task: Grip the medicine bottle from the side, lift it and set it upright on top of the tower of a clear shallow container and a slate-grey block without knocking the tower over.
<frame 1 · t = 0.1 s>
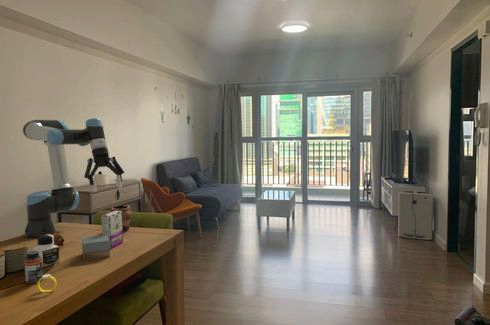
hand: (108, 189, 180), 28 cm above the table, tool tilted 20°, fingers open, 13 cm apart
clear shallow container: (96, 255, 166), on the table
decorative planter: (120, 231, 208), on the table
medicine bottle: (46, 263, 157), on the table
supplement bottle: (34, 281, 137), on the table
candy bar box: (113, 245, 180), on the table
slate block: (95, 247, 166), point 4 cm above the table
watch: (47, 292, 128), on the table
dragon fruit: (51, 249, 175), on the table
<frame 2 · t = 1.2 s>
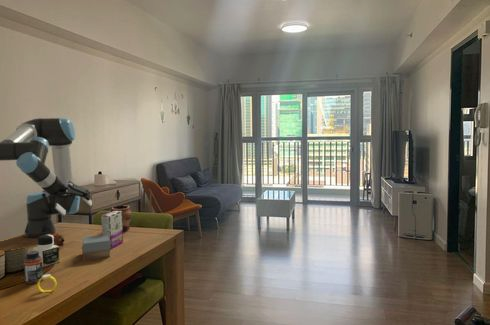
hand: (78, 208, 171), 20 cm above the table, tool tilted 45°, fingers open, 13 cm apart
nothing on the table moved.
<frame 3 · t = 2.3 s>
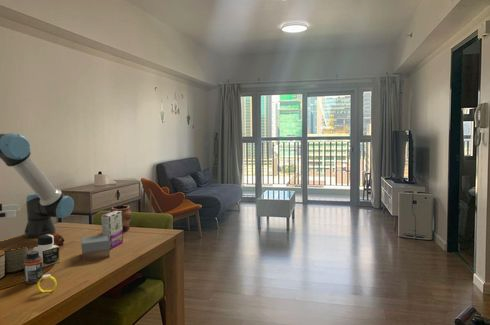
hand: (18, 210, 151), 24 cm above the table, tool horizontal, fingers open, 13 cm apart
clear shallow container: (95, 256, 166), on the table, touching slate block
slate block: (95, 247, 166), point 4 cm above the table, touching clear shallow container
everything else where it was.
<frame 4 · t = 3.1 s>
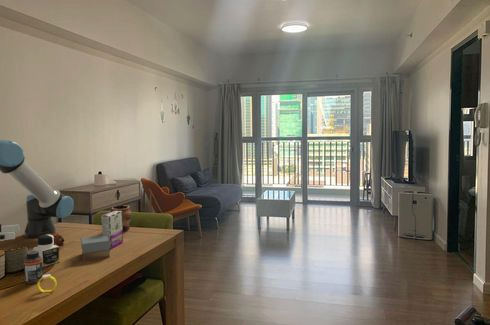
hand: (17, 231, 151), 15 cm above the table, tool horizontal, fingers open, 13 cm apart
nothing on the table moved.
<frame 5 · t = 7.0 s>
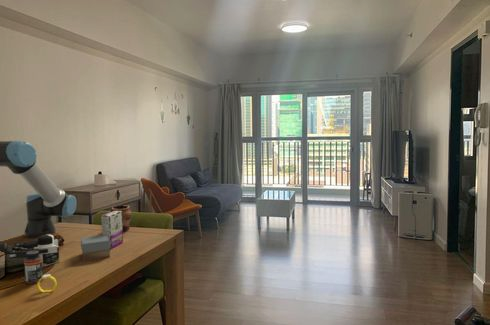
hand: (57, 245, 158), 7 cm above the table, tool horizontal, fingers closed on medicine bottle, 10 cm apart
medicine bottle: (46, 263, 157), on the table, touching gripper
everything else where it was.
when the fingers open (16 cm above the table, at t = 12.1 s): medicine bottle drops 2 cm, resting on slate block.
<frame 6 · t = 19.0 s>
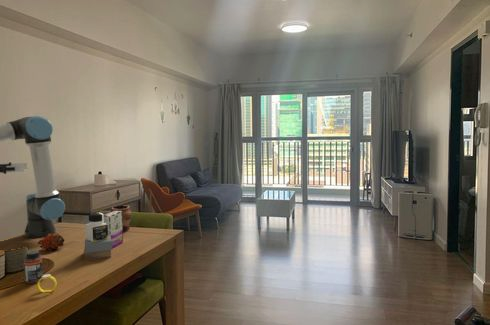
hand: (25, 167, 171), 40 cm above the table, tool horizontal, fingers open, 13 cm apart
medicine bottle: (97, 239, 166), point 7 cm above the table, touching slate block
slate block: (98, 247, 166), point 3 cm above the table, touching medicine bottle, clear shallow container
at the end: medicine bottle inside the target area on the slate block (0.4 cm from its centre), point 3.9 cm above the slate block's base; slate block tilted 0°; medicine bottle tilted 2° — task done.
